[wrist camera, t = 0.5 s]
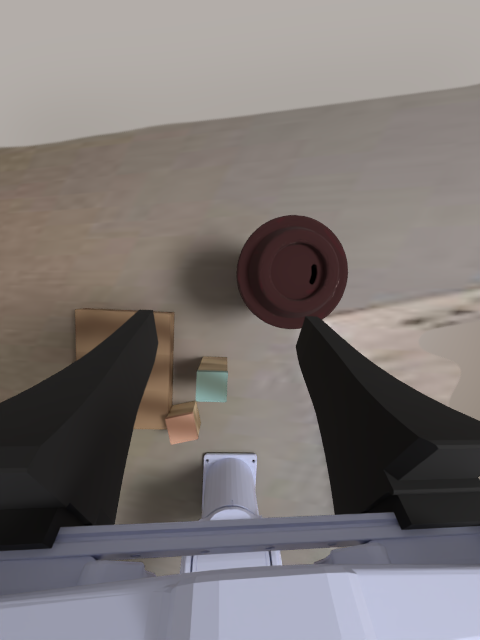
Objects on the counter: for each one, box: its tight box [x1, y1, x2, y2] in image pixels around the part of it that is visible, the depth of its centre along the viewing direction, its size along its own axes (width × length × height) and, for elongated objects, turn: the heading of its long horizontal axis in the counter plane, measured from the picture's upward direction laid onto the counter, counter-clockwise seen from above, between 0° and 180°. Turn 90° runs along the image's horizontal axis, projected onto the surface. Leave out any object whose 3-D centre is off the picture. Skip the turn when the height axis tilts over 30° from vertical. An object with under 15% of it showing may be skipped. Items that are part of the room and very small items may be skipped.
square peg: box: [196, 357, 228, 402], centre depth 32 cm, size 4×4×7 cm
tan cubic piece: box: [165, 401, 201, 445], centre depth 34 cm, size 4×4×4 cm
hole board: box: [75, 308, 174, 429], centre depth 33 cm, size 16×12×2 cm
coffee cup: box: [237, 215, 348, 329], centre depth 27 cm, size 10×10×15 cm
